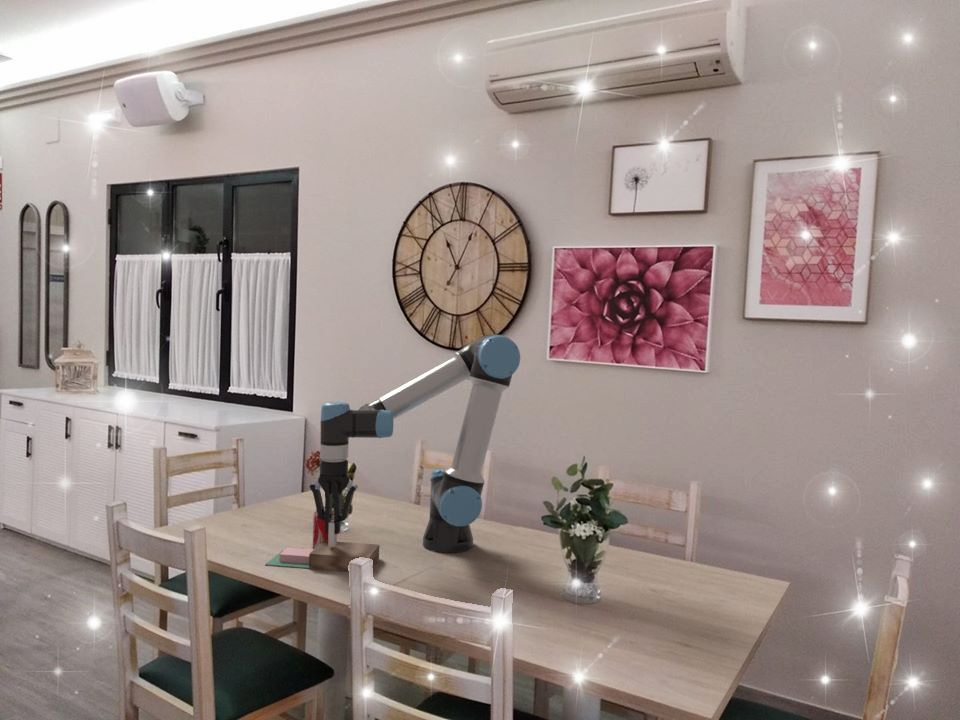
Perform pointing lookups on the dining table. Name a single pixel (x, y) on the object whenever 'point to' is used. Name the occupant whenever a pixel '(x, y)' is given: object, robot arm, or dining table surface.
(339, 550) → the wooden block
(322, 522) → the beverage can
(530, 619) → the dining table surface
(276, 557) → the mat
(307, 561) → the pink rectangular block
